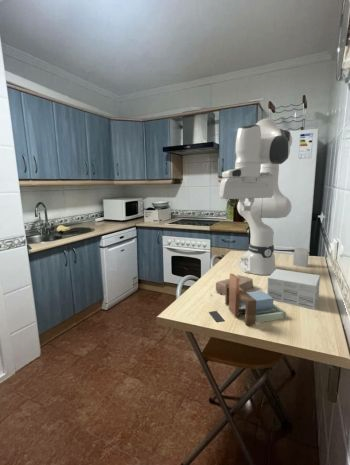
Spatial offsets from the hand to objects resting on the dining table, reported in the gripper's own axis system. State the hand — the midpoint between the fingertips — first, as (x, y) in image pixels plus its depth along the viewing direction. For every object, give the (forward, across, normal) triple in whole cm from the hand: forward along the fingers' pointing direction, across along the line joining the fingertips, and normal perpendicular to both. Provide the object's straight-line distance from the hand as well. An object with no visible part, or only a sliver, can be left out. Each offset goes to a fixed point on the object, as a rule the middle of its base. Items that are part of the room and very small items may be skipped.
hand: (246, 211), depth 94 cm
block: (+35, 0, +9) cm, 36 cm away
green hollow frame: (+35, -2, +9) cm, 36 cm away
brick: (+36, -2, -11) cm, 37 cm away
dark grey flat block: (+35, +15, +9) cm, 39 cm away
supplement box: (+36, -20, +3) cm, 41 cm away
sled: (+35, +2, +9) cm, 36 cm away
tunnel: (+35, +6, +9) cm, 37 cm away
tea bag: (+35, -52, -32) cm, 71 cm away
